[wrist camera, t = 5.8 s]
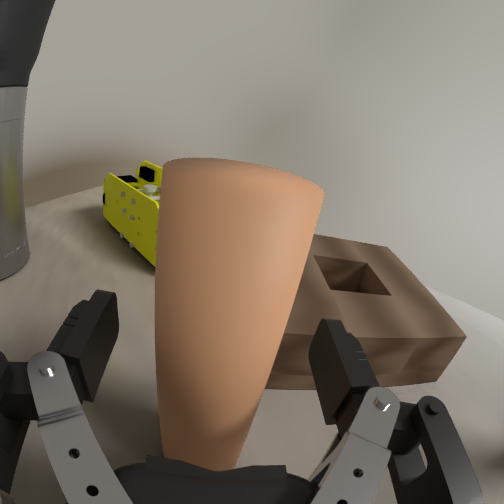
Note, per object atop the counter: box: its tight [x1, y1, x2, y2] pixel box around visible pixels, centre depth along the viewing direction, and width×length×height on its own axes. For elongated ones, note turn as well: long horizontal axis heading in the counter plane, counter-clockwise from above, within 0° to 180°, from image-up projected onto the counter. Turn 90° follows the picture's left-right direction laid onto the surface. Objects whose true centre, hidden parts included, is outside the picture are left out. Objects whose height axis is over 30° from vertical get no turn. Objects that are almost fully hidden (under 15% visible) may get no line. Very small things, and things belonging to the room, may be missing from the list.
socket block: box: [265, 234, 467, 390], centre depth 25 cm, size 16×16×5 cm
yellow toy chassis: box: [103, 161, 163, 267], centre depth 32 cm, size 16×6×8 cm, turn 46°
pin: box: [155, 158, 324, 471], centre depth 10 cm, size 4×4×14 cm
